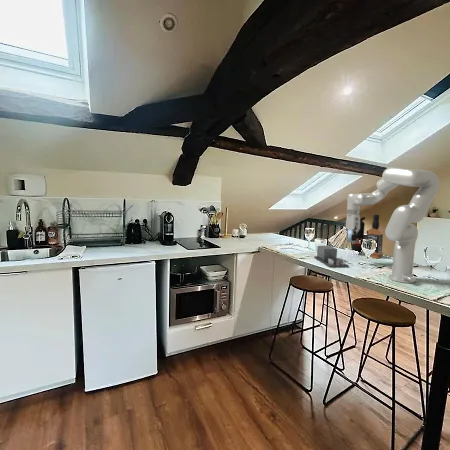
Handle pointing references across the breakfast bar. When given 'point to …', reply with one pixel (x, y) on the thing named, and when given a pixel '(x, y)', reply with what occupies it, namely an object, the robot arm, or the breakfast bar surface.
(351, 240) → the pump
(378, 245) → the whiskey bottle
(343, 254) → the breakfast bar surface
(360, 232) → the dark red-label bottle
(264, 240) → the breakfast bar surface
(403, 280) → the robot arm
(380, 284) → the breakfast bar surface
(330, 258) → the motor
